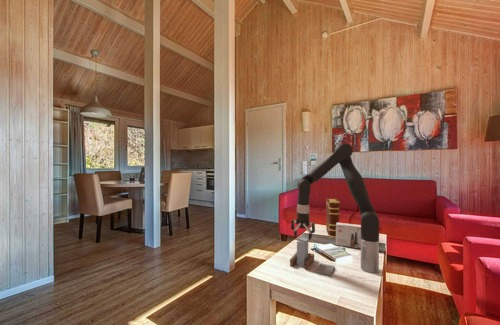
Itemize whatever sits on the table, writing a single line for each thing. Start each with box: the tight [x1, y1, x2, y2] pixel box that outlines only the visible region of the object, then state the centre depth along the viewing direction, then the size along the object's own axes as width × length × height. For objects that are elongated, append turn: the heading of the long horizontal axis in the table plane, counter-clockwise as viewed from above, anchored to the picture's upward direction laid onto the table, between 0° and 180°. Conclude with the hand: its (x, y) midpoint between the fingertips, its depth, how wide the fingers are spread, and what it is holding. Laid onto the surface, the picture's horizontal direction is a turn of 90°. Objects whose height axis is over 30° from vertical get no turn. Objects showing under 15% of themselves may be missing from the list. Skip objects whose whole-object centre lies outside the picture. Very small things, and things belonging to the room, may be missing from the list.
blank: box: [296, 237, 309, 268], centre depth 141 cm, size 4×9×14 cm, turn 151°
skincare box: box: [335, 222, 361, 249], centre depth 171 cm, size 21×6×16 cm, turn 68°
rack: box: [289, 251, 315, 271], centre depth 140 cm, size 10×16×4 cm
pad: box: [315, 262, 335, 277], centre depth 131 cm, size 8×12×1 cm, turn 151°
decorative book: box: [325, 197, 341, 239], centre depth 200 cm, size 22×8×30 cm, turn 168°
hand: (302, 238), depth 141 cm, fingers open, 8 cm apart
